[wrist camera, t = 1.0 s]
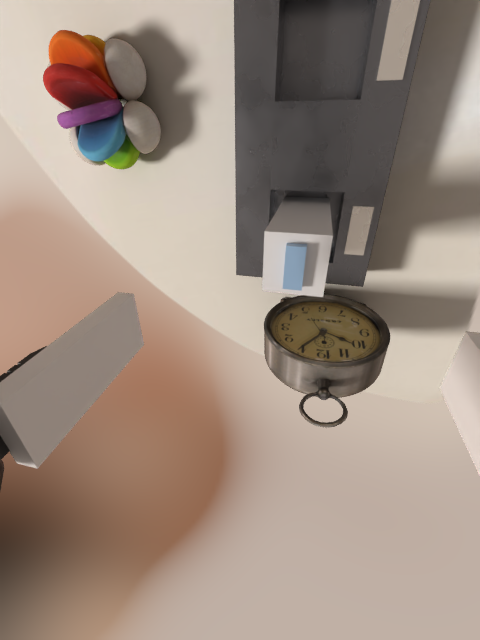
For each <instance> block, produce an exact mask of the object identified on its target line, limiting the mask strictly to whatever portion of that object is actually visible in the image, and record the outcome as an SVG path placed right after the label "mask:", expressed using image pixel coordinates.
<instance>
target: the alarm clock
mask: <svg viewBox="0 0 480 640" xmlns="http://www.w3.org/2000/svg"><path fill="white" fill-rule="evenodd" d="M264 331H265V359H266V361H267V364H268V366H269V368H270V370H271V371H272V372H273V374H274V375H275V376H276V377H277V378H278V379H279V380H280V381H282V382H283V383H284V384H286V385H287V386H289V387H290V388H292V389H295V390H297V391H299V392H301V393H305V394H307V395H306V396H304V398H303V399H302V400H301V402H300V405H299V409H300V413H301V415H302V416H303V417H304V418H305V419H306V420H307V421H308V422H310V423H311V424H313V425H316V426H320V427H335V426H337V425H339V424H341V423H342V422H343V421H345V419H346V418H347V414H348V411H347V408H346V406H345V404H344V403H343V402H342V401H341V400H340V399H338V398H339V397H346V396H350V395H354V394H356V393H359V392H361V391H363V390H365V389H366V388H368V387H369V386H370V385H372V384H373V383H374V382H375V380H376V379H377V377H378V376H379V374H380V372H381V369H382V365H383V362H384V358H385V355H386V351H387V348H388V345H389V342H390V332H389V329H388V327H387V325H386V323H385V322H384V320H383V319H382V318H381V317H380V316H379V315H378V314H377V313H376V312H374V311H373V310H372V309H370V308H368V307H367V306H366V305H365V304H361V303H359V302H356V301H354V300H351V299H347V298H344V297H340V296H334V295H323V297H316V296H306V295H302V296H297V297H293V298H290V299H287V300H286V299H285V298H282V299H281V302H280V303H279V304H277V305H276V306H274V307H273V308H272V309H271V310H270V311H269V313H268V314H267V316H266V318H265V322H264ZM312 396H316V397H319V398H320V399H321V400H326V399H328V398H333V399H335V400H337V401H338V402H339V403H340V404H341V406H342V408H343V415H342V417H341V418H340V419H338V420H337V421H335V422H329V423H321V422H318V421H315V420H313V419H312V418H310V417H309V416H308V415H307V414H306V413H305V411H304V409H303V404H304V402H305V401H306V399H308V398H310V397H312Z"/></svg>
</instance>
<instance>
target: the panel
mask: <svg viewBox="0 0 480 640" xmlns="http://www.w3.org/2000/svg"><path fill="white" fill-rule="evenodd" d="M429 4H430V0H234V43H235V160H236V275H243V276H254V277H263V255H264V231H265V230H266V228H267V226H268V225H269V223H270V221H271V220H272V218H273V216H274V215H275V213H276V211H277V209H278V208H279V206H280V204H281V203H282V201H283V199H284V198H285V197H310V198H329V199H330V209H331V220H332V230H333V239H332V245H331V251H330V257H329V264H328V270H327V276H326V282H325V283H329V284H340V285H351V286H362V287H363V285H364V280H365V276H366V272H367V268H368V263H369V259H370V255H371V251H372V246H373V242H374V238H375V234H376V229H377V225H378V221H379V217H380V212H381V208H382V204H383V200H384V195H385V191H386V187H387V183H388V178H389V174H390V170H391V166H392V161H393V157H394V153H395V149H396V144H397V140H398V136H399V132H400V127H401V123H402V119H403V115H404V110H405V106H406V102H407V98H408V93H409V89H410V85H411V81H412V76H413V72H414V68H415V64H416V59H417V55H418V51H419V47H420V42H421V38H422V34H423V29H424V25H425V21H426V17H427V12H428V8H429Z"/></svg>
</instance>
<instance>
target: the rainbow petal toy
mask: <svg viewBox="0 0 480 640" xmlns="http://www.w3.org/2000/svg"><path fill="white" fill-rule="evenodd" d="M49 59H50V62H49V64H48V67H47V69H46V70H45V72H44V75H43V81H44V85H45V87H46V90H47V91H48V92H49V93H50V95H51V96H52V97H54V98H55V99H56V101H57V102H58V103H59V104H60V105H61V106H63V107H64V108H65V109H67V110H69V111H66V112H63V113H60V114H59V115H58V116H57V120H58V122H59V124H60V125H61V127H63V128H66V129H67V128H70V131H69V138H70V143H71V145H72V148H73V149H74V151H75V152H76V154H77V155H78V156H79V157H80V158H81V159H82V160H84V161H85V162H87V163H89V164H92V165H103V164H105V163H106V164H108V165H109V166H111V167H113V168H116V169H127V168H130V167H131V166H133V165H134V164H135V162H136V161H137V159H138V157H139V154H140V152H141V153H144V154H148V153H150V152H152V151H153V150H154V149H155V148H156V147H157V145H158V143H159V141H160V137H161V128H160V124H159V121H158V118H157V116H156V115H155V113H154V112H153V111H152V110H151V109H150V108H149V107H148V106H147V105H145V104H144V103H142V102H139V101H136V100H137V99H138V98H139V97H140V96H141V95H142V93H143V91H144V89H145V86H146V70H145V66H144V63H143V61H142V58H141V57H140V55H139V54H138V52H137V51H136V50H135V49H134V48H133V47H132V46H131V45H130V44H128V43H127V42H125V41H123V40H120V39H109V40H108V41H107V42H106V43H105V42H104V41H103V40H101V39H100V38H98V37H95V36H92V35H85V36H82V35H80V34H78V33H75V32H72V31H68V30H60V31H58V32H57V33H56V34H55V35H54V36H53V37H52V39H51V41H50V44H49ZM122 98H124V99H126V100H127V103H126V104H125V105H124V107H123V106H122V103H121V102H120V101H119V100H118V99H122Z"/></svg>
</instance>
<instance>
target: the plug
mask: <svg viewBox="0 0 480 640" xmlns="http://www.w3.org/2000/svg"><path fill="white" fill-rule="evenodd" d="M332 239H333V230H332V220H331V209H330V199H329V198H310V197H285V198H284V199H283V201H282V203H281V204H280V206H279V208H278V209H277V211H276V213H275V215H274V216H273V218H272V220H271V221H270V223H269V225H268V226H267V228H266V230H265V231H264V255H263V280H262V291H266V292H276V293H286V294H296V295H306V296H316V297H323V295H324V288H325V282H326V276H327V270H328V264H329V257H330V251H331V245H332Z"/></svg>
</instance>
